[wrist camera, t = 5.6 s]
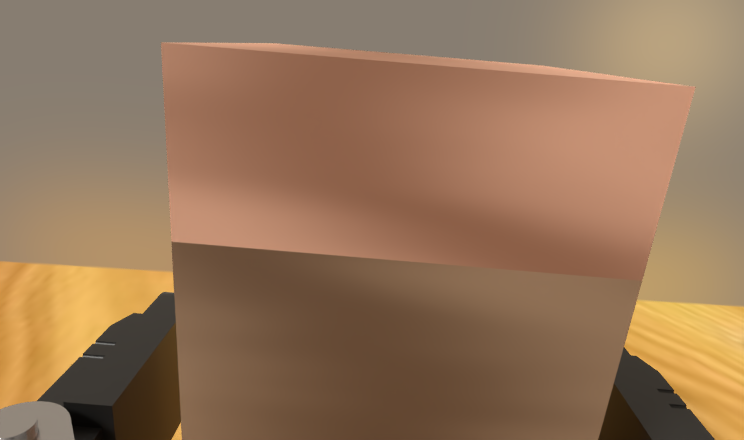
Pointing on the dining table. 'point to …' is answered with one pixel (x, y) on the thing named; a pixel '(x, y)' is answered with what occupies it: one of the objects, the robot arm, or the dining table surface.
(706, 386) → the dining table surface
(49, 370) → the dining table surface
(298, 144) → the walnut block
